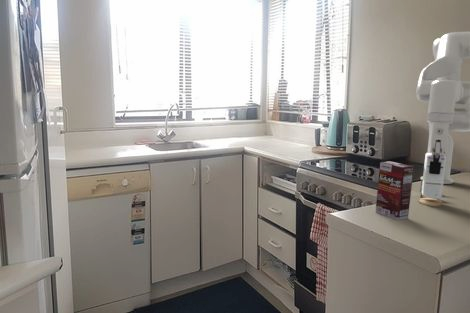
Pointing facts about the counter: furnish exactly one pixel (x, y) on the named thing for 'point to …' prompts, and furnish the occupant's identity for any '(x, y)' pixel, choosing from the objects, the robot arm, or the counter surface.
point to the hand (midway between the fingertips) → (434, 171)
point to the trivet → (430, 202)
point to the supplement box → (394, 190)
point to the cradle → (421, 190)
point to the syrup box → (433, 179)
